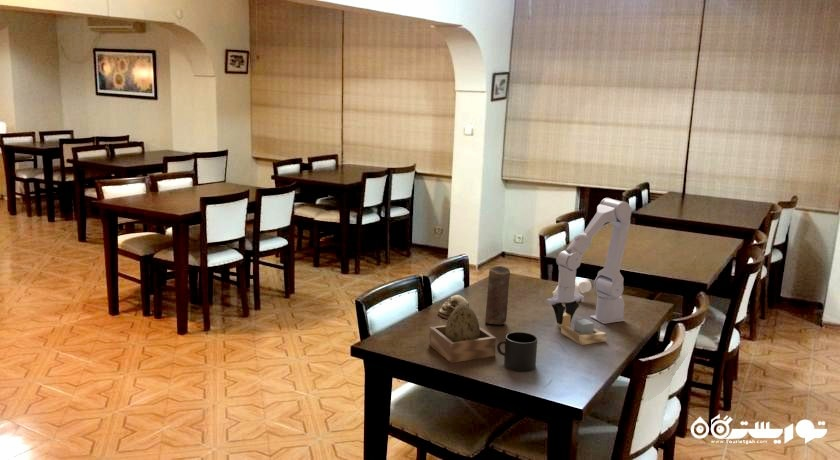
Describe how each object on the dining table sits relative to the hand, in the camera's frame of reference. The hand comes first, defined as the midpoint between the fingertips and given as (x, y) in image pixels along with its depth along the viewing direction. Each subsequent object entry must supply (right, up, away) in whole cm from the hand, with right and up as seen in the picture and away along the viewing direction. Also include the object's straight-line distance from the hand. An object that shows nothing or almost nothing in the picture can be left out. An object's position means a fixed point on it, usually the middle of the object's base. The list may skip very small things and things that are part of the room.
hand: (563, 322), depth 246 cm
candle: (-24, -1, +1) cm, 24 cm away
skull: (-38, +1, +9) cm, 39 cm away
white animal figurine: (+10, +5, +32) cm, 33 cm away
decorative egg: (-37, -6, -24) cm, 45 cm away
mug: (-22, -9, -34) cm, 41 cm away
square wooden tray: (-37, -6, -24) cm, 45 cm away
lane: (+4, -3, -9) cm, 10 cm away
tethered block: (+2, -3, -5) cm, 6 cm away
